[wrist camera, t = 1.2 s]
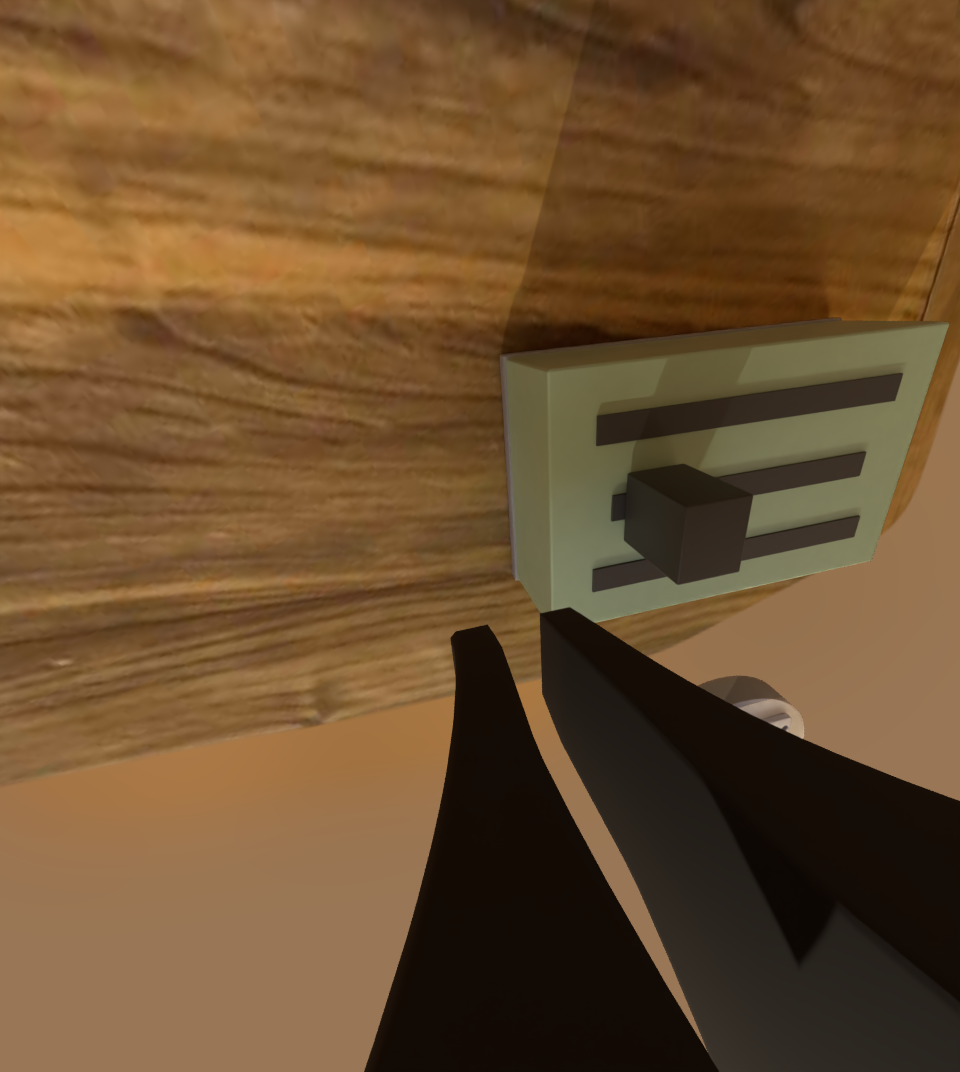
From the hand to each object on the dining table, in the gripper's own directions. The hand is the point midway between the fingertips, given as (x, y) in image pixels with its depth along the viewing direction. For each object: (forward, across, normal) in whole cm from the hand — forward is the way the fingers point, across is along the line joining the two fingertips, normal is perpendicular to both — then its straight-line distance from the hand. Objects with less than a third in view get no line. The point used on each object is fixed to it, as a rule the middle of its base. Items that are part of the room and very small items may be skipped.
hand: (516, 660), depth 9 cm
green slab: (+10, -10, 0) cm, 14 cm away
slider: (+6, -6, 0) cm, 9 cm away
